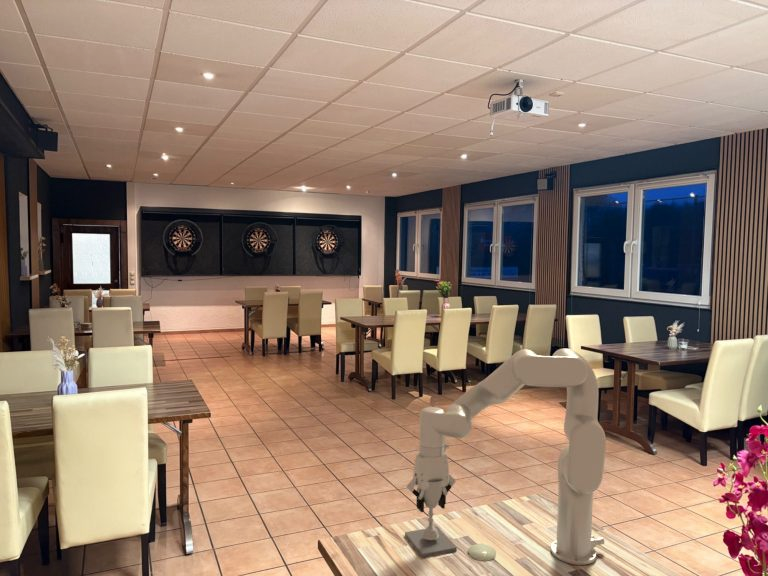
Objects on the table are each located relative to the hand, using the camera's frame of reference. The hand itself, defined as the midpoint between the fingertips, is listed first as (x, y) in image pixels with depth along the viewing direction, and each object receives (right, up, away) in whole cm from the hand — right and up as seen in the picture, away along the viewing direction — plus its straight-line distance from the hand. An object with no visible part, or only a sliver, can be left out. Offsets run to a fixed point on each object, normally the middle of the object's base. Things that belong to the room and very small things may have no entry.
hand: (431, 507), depth 170 cm
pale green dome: (+15, -12, -4) cm, 19 cm away
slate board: (0, -11, +1) cm, 11 cm away
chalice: (0, -9, +1) cm, 9 cm away
